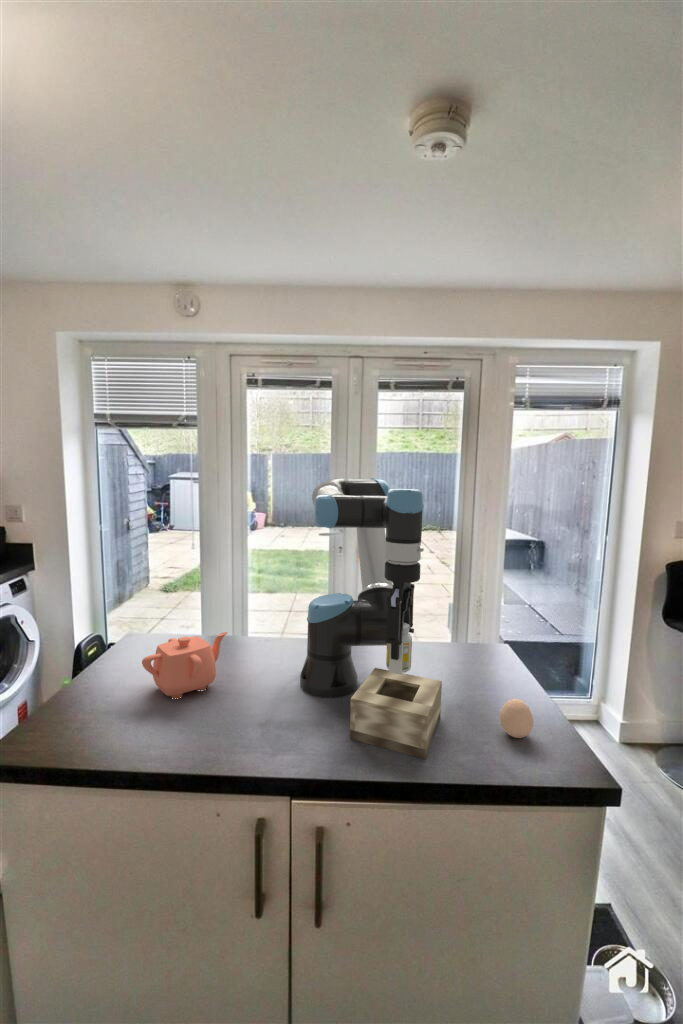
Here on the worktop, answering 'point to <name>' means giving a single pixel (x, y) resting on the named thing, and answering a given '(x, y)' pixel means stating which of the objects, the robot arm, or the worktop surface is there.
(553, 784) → the worktop surface
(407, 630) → the supplement bottle
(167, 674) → the teapot
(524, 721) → the egg
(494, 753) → the worktop surface
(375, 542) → the robot arm
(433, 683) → the drop box
